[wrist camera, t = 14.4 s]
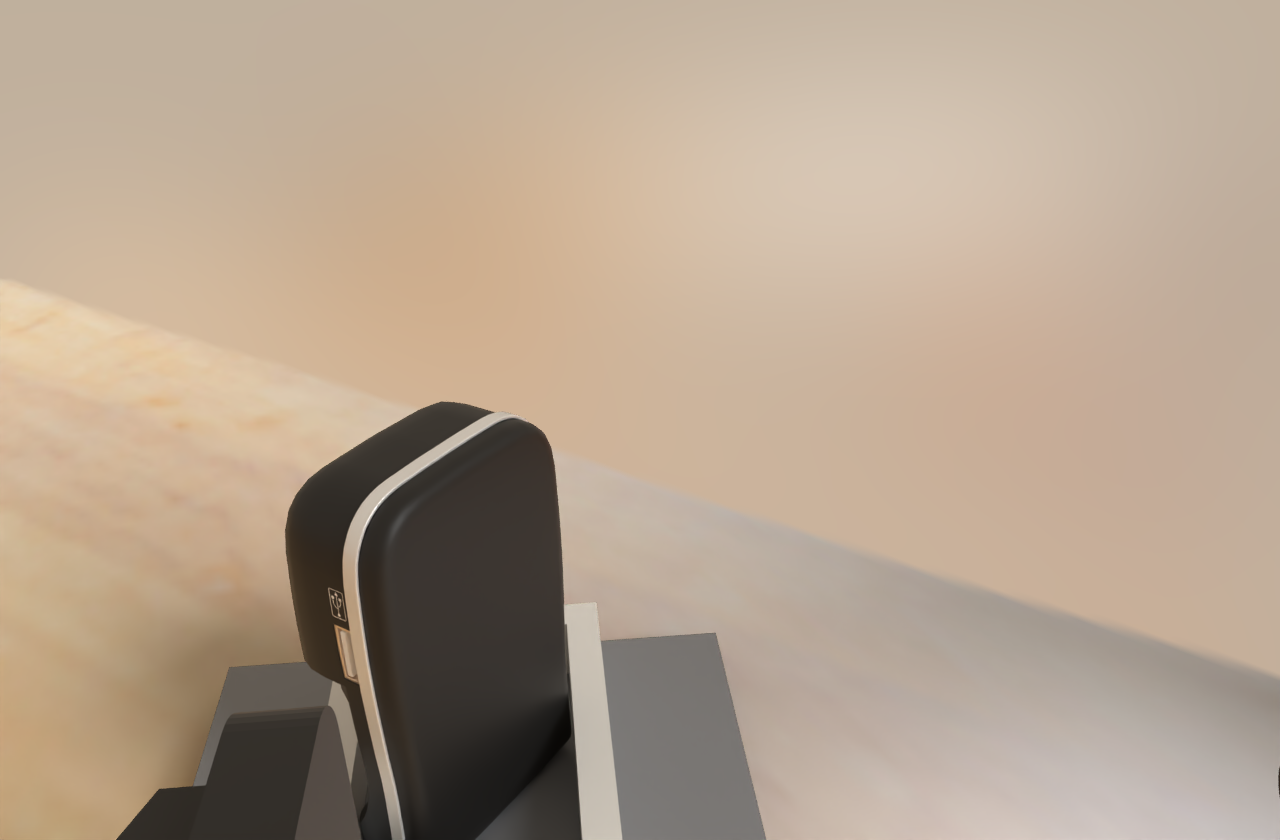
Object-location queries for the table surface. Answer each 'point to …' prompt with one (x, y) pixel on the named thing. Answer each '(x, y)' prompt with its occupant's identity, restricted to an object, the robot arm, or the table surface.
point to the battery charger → (438, 613)
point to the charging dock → (584, 741)
